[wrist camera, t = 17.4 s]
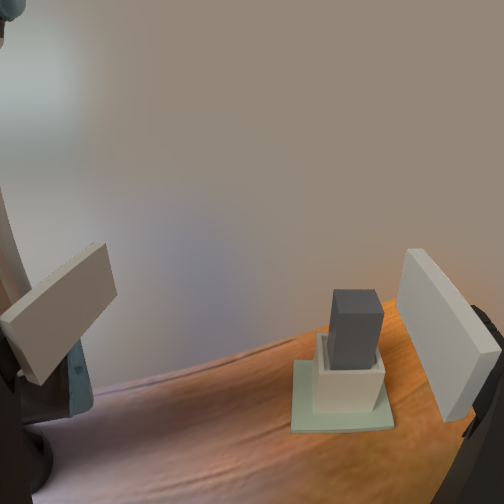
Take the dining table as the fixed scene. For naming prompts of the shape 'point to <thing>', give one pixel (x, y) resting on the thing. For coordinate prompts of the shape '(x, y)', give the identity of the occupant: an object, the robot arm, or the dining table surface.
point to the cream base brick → (343, 383)
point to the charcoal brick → (354, 329)
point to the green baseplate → (332, 422)
